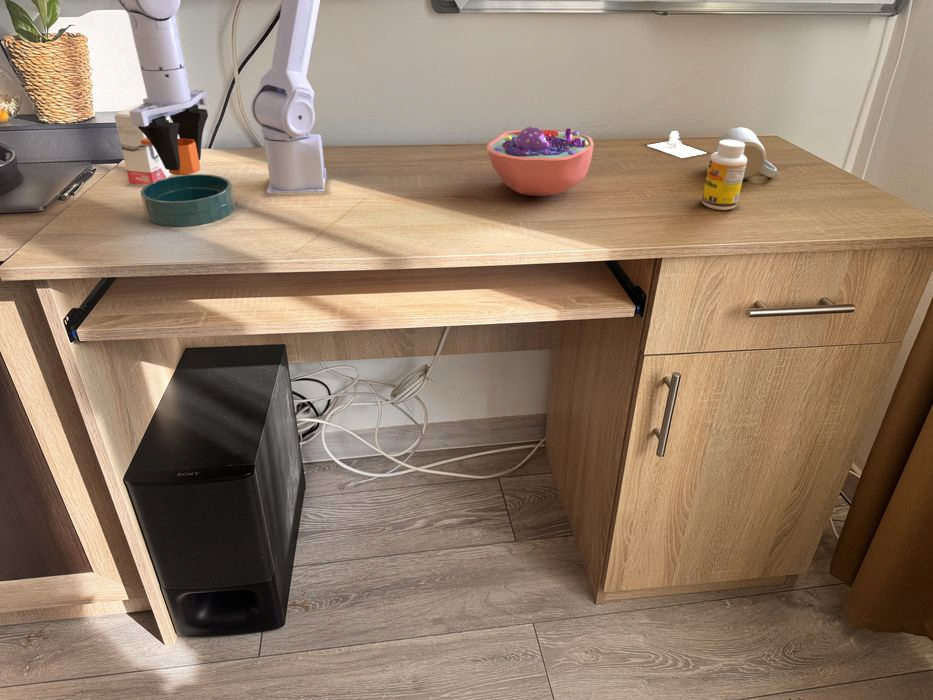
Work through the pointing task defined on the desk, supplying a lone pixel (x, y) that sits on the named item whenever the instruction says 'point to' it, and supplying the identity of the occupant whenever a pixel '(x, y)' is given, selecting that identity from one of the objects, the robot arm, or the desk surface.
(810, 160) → the desk surface
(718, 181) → the supplement bottle
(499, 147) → the cell model
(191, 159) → the scoop
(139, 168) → the ink box
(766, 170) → the ceramic mug
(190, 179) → the bowl
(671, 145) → the adhesive hook
